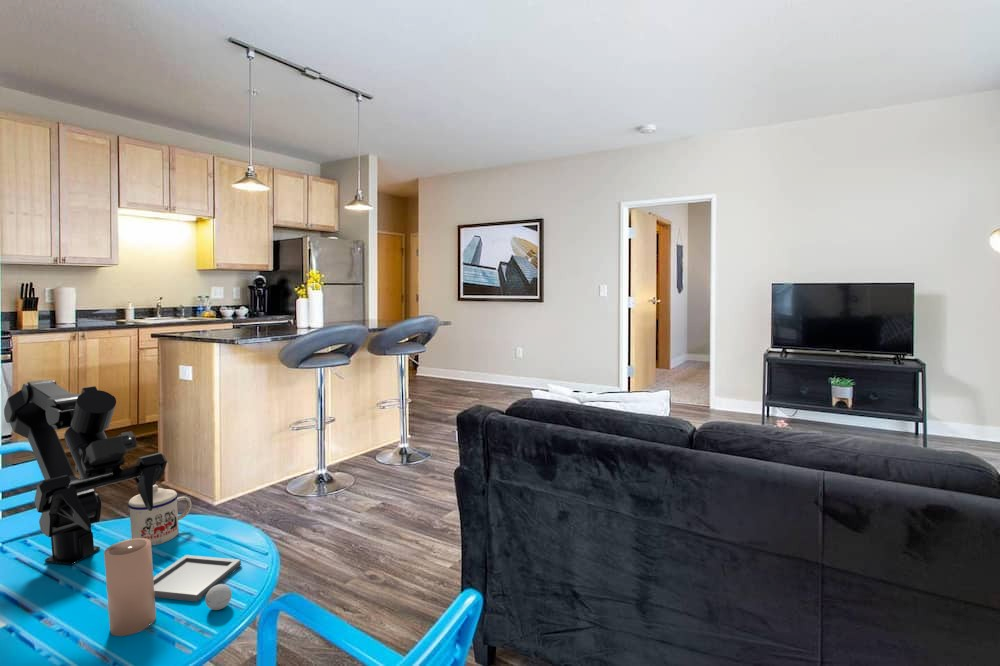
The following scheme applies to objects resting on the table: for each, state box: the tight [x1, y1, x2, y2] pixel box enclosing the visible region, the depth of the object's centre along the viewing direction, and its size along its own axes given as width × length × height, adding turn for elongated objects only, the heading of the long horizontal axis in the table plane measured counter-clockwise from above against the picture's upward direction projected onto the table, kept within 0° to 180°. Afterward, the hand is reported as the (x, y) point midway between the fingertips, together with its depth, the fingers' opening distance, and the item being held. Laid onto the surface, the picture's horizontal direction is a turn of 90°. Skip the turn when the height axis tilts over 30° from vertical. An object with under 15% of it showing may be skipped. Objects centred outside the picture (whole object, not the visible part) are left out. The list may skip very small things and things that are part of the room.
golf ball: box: [204, 583, 233, 611], centre depth 91 cm, size 4×4×4 cm
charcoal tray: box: [153, 554, 242, 602], centre depth 100 cm, size 12×12×1 cm
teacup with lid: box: [127, 483, 192, 547], centre depth 117 cm, size 12×9×12 cm
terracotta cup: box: [103, 538, 157, 637], centre depth 87 cm, size 6×6×13 cm
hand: (121, 518), depth 92 cm, fingers open, 9 cm apart
